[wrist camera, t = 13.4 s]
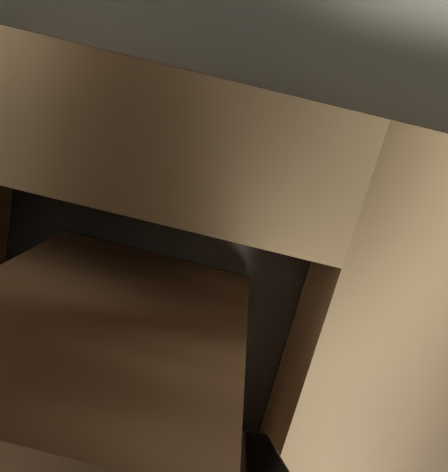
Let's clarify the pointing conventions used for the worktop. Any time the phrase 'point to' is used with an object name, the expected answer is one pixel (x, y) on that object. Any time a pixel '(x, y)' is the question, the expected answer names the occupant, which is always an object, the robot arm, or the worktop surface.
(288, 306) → the worktop surface
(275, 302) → the worktop surface
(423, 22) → the worktop surface
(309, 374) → the wooden board with hole
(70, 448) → the block
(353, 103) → the worktop surface
